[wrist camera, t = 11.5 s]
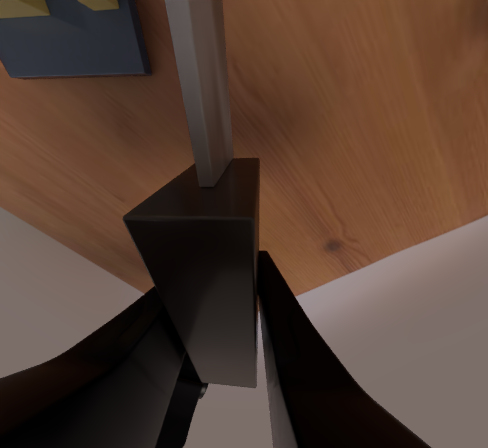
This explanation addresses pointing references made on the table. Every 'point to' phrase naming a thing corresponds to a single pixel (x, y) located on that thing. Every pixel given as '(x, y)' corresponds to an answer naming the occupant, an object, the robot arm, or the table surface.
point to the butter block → (23, 8)
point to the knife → (206, 214)
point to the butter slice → (100, 4)
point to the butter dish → (75, 43)
